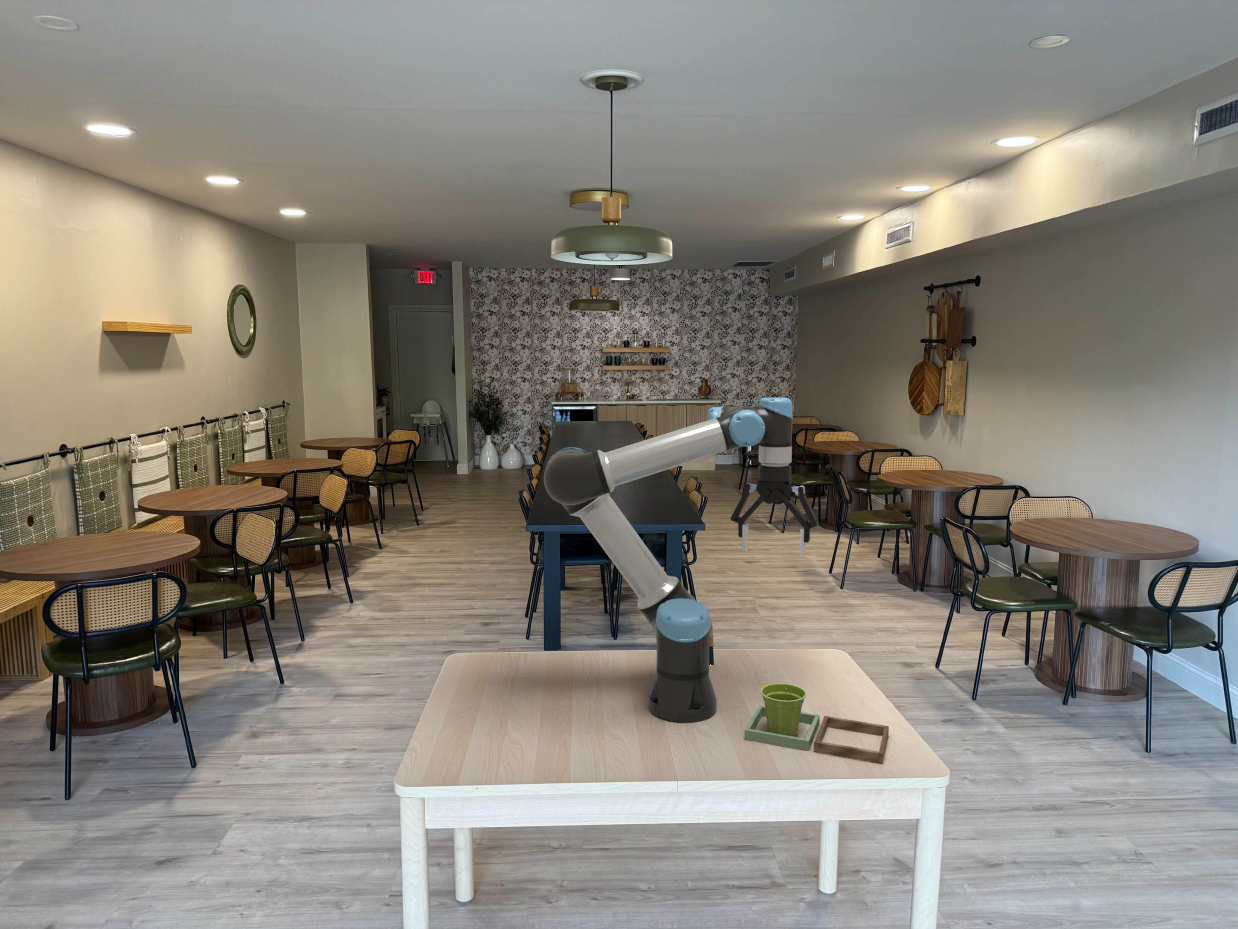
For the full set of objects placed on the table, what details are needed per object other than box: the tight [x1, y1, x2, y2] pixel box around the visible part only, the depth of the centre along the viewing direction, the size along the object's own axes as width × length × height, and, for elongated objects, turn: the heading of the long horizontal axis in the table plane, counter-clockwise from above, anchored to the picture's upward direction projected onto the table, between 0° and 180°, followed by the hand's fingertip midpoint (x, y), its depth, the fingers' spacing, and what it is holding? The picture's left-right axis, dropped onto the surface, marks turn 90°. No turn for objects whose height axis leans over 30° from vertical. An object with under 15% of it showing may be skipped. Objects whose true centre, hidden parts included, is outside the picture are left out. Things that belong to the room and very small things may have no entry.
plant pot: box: [759, 682, 808, 737], centre depth 168 cm, size 9×9×9 cm
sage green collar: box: [743, 705, 821, 751], centre depth 168 cm, size 13×13×2 cm
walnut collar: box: [813, 715, 890, 765], centre depth 163 cm, size 13×13×2 cm
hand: (773, 553), depth 190 cm, fingers open, 13 cm apart
